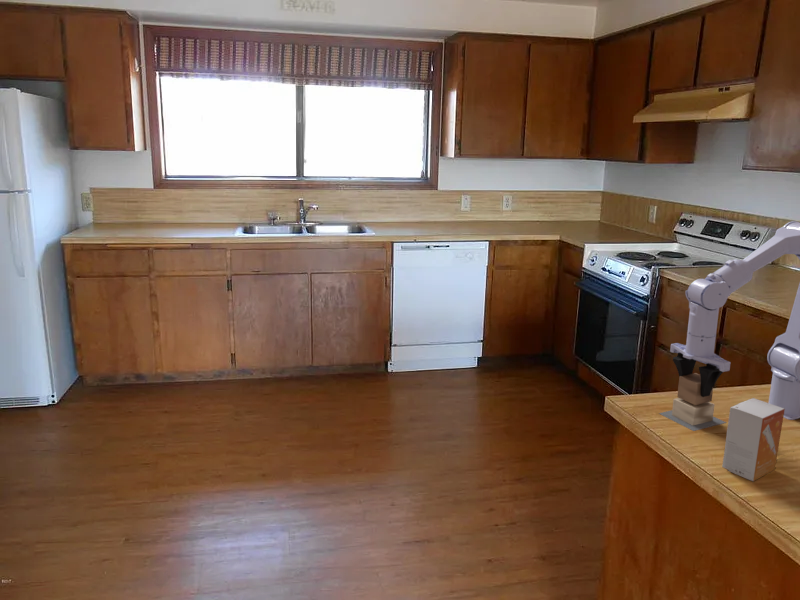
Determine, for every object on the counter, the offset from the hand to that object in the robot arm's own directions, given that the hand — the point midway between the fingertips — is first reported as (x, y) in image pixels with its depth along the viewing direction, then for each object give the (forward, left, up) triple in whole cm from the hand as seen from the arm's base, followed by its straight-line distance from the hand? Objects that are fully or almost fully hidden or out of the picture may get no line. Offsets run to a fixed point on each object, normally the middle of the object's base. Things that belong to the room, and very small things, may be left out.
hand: (695, 391), depth 143 cm
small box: (+8, +21, -7) cm, 24 cm away
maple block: (0, 0, -6) cm, 6 cm away
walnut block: (0, 0, -2) cm, 2 cm away
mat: (0, 0, -7) cm, 7 cm away
